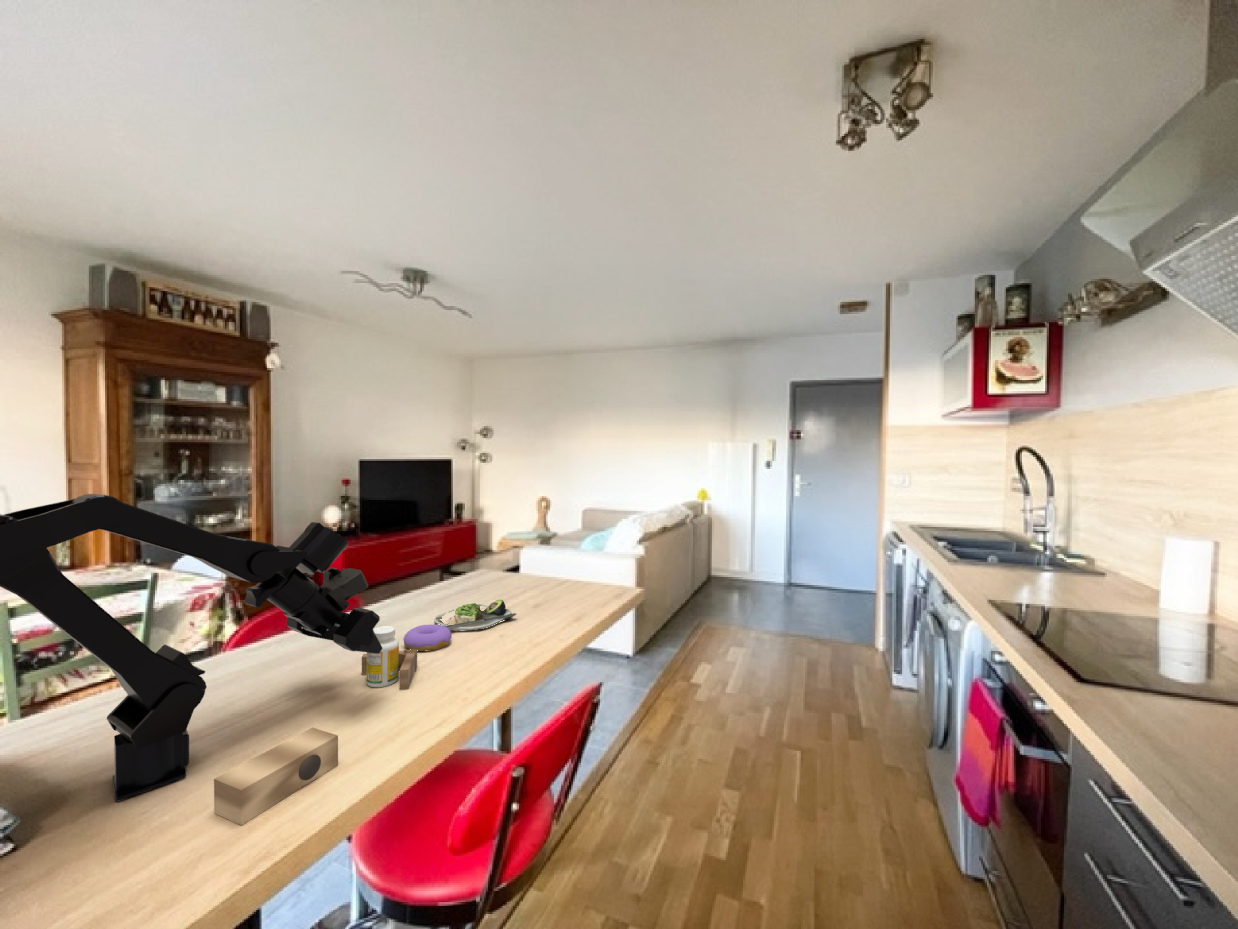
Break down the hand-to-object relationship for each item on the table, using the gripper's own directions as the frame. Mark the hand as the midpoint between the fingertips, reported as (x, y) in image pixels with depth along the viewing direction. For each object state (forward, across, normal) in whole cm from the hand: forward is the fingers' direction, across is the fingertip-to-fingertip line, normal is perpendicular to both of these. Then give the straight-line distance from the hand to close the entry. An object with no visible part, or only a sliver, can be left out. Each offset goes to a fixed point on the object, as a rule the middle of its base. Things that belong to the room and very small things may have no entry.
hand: (364, 645), depth 89 cm
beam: (-9, -16, +21) cm, 28 cm away
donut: (+20, +8, -8) cm, 23 cm away
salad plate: (+32, +12, -21) cm, 40 cm away
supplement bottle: (+8, 0, +3) cm, 9 cm away
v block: (+11, 0, 0) cm, 11 cm away
